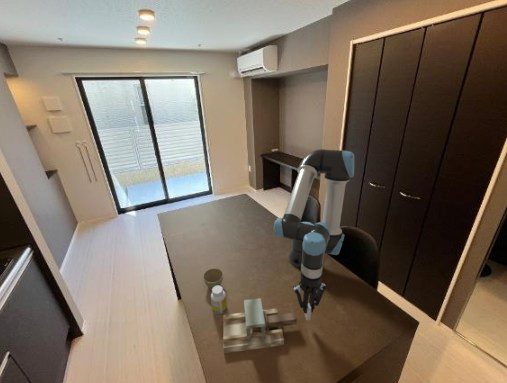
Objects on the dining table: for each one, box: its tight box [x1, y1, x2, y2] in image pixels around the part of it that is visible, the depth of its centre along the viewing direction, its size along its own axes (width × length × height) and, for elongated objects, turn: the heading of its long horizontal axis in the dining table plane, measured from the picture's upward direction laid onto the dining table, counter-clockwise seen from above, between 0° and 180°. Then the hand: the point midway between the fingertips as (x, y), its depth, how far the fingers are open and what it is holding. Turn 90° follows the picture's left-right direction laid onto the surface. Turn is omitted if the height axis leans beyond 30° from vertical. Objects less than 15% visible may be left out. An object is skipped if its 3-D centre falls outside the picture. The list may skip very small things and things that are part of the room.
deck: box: [222, 297, 285, 354], centre depth 91 cm, size 23×14×12 cm, turn 97°
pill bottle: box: [210, 285, 228, 315], centre depth 101 cm, size 6×6×12 cm
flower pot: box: [202, 268, 224, 290], centre depth 115 cm, size 10×10×7 cm
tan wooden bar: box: [252, 311, 298, 332], centre depth 92 cm, size 18×5×5 cm, turn 97°
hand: (307, 317), depth 93 cm, fingers closed
